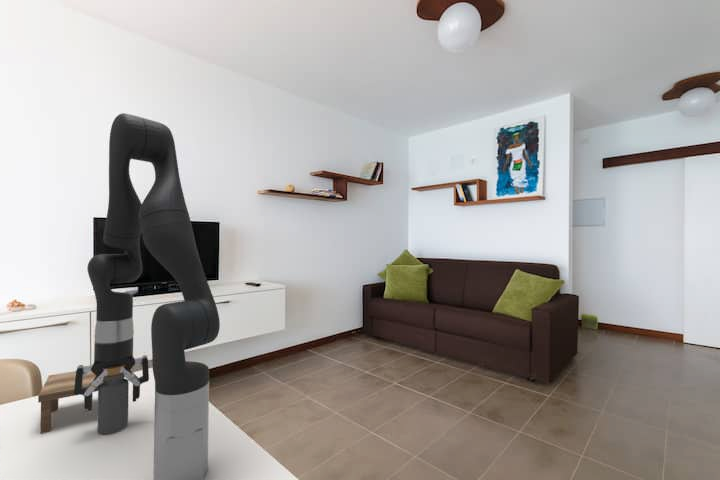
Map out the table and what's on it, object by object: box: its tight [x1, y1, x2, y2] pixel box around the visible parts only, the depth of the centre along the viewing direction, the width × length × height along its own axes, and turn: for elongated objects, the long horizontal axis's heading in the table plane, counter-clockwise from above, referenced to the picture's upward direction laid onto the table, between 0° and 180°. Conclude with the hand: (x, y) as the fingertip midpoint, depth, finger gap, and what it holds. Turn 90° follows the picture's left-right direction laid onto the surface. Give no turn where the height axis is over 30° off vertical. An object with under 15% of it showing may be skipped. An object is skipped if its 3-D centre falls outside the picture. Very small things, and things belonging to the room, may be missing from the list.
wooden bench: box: [37, 370, 104, 434], centre depth 86 cm, size 14×14×9 cm
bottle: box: [97, 365, 130, 436], centre depth 80 cm, size 6×6×15 cm
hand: (113, 405), depth 80 cm, fingers open, 8 cm apart
